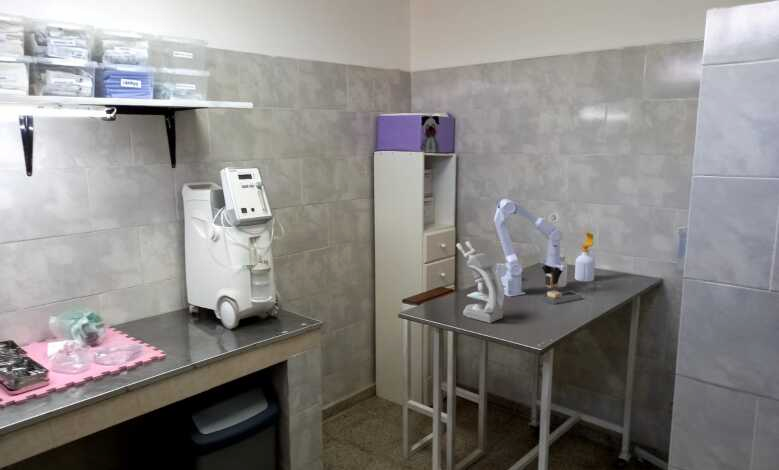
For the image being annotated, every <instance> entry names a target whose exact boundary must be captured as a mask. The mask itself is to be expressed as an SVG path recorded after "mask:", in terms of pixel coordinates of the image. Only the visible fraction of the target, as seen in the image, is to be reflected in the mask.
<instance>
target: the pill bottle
mask: <svg viewBox="0 0 779 470" xmlns="http://www.w3.org/2000/svg"><path fill="white" fill-rule="evenodd" d="M559 262H560V263H561V264H562V265H564V266H566V270H564V271H563V272H562V273H561V275H560V277H559V287H558V288H564V287H567V282H568V281H567V280H568V262H567V261H566V255H565V254H560V259H559ZM554 269H555V268H554Z"/></svg>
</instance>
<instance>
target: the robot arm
mask: <svg viewBox="0 0 779 470" xmlns="http://www.w3.org/2000/svg"><path fill="white" fill-rule="evenodd" d="M513 214H515V215H520V216H522V217H523V218H524V219H526V220H527V221H529V222H530V223H531V224H532V225H533V228H534V229H536V230H537V231H538V232H539V233H541V234H542V235H544V236H545V237H546V238H547V240H546V241H547V244H546V259H541V260H540V265H541V266H542V265H543V266H542V271H543V272H544V275H545V276H546V274H547V273H552V276H553V284H557V283H558V280H559V277H560V275H561V273H562V272H563V271H564V270H566V266H564V265H562V264H561V263H560V262H559V259H560V255H561V240H562V239H563V234H562V232H561V230H559V228H556V226H555V225H554V224H551V223H550V222H548V221H547V220H548V219H546V218H545V217H544V218H543V217H537V216H536V215H534V214H533V213H532V212H530V211H529V210H528V209H526V208H525V207H524V206H522V205H521V204H519V203H517V202H514V201H513V200H511V199H510V198H502V199H501V200H500V201H499V202H498V204H497V205H496V211H495V215H494V217H493V221H494V224H495V228H496V232H497V235H498V237H499V242H500V244H501V247H502V250H503V254H504V259H505V263H504V264H505V266H506V269H507V270H508V271H507V272H506V275H505V276H503V277H501V281H502V284H503V288H504V296H507V297H515V296H520V295H526V292H525V291H524V292H523V291H522V288H523V287H522V285H523V284H522V282H523V281H522V280H523V279H522V278H523V276H522V275H523V272H524V269H523V266H522V264H521V262H519V259H518V257H517V255H516V251H515V248H514V246H513V241H512V238H511V236H510V232H509V229H508V225H507V221H508V220H509V217H511V216H512V215H513ZM554 268H555V269H554Z"/></svg>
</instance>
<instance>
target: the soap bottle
mask: <svg viewBox="0 0 779 470" xmlns="http://www.w3.org/2000/svg"><path fill="white" fill-rule="evenodd" d="M581 233H583V234H585V235H586V243H583V244H580V245H579V246H580V247H582V248H583V249H582V250H581V255H578V257H576V259H575V265H574V266H575V267H574V269H575V270H574V279H575V280H576V281H579V282H584V283H585V282H593V281H594V280H595V265H596V260H595V259H594V257H592V256H590V250H588V249H589V247H593V245H594V234H593V233H590V232H586V231H581Z"/></svg>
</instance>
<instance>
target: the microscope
mask: <svg viewBox="0 0 779 470" xmlns="http://www.w3.org/2000/svg"><path fill="white" fill-rule="evenodd" d="M455 246H456V247H457V249H458V250H459V251H460V252H461V253H462V254H463V257H464V258H465V259H466V258H468V260H467V262H466V264H467V267H468V268H470V270H471V273H472V275H473V279H474V281H475V282H476V283H477V291H474V292H471V293H469V294H466V297H467V298H468V297H469V298H471V299H474V300H479V301H484V303H485V304H484V303H483V302H475V303H471V304H467V305H466V306H464V307H465V308H464V309H463V310H462V311H463V312H462V314H463V316H464V317H466V318H468V319H473V320H477V321H481V322H485V323H487V324H491V323H493V322H496V321H497V320H501V319H502V318H504V311H503V309H502V307H503V305H504V300H505V295H504V288H503V284H502V281H501V279H500V277H499V275H498V273H497V272H496V269H495V268H494V267H493V266H494V265H493V263H492V261H491V260H490V258H488V256H487V254H485V253H478V251H476V249H475V248H473V245H472V243H471V242H470V241H469V240H467V241H466V242H465V246H466V247H467V248H468V249H469V251H467V252H466V251H465V250H464V248H463V247H464V246H462V244H461V243H459V242H458V243H456V245H455ZM488 272H489V274H491V276H492V278H493V280H492V278H491V277H490V276H489V274H488ZM493 281H494V283H495V285H496V289H495V285H494V283H493ZM484 285H485V287H486V288H487V289H488V293H487V294H486V293H483V292H484ZM496 293H497V294H496Z"/></svg>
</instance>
